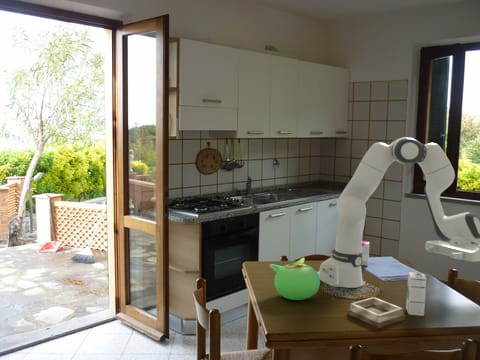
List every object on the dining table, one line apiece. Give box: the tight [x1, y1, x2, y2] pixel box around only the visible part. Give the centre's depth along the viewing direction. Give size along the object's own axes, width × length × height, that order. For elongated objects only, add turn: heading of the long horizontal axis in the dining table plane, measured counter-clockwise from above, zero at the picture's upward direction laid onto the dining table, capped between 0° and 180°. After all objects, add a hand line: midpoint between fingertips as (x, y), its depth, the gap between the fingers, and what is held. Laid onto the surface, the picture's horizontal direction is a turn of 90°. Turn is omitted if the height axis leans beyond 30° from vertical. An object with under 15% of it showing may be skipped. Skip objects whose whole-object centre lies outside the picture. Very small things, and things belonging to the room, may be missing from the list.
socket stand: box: [347, 296, 406, 329], centre depth 166 cm, size 14×14×4 cm
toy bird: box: [268, 257, 321, 301], centre depth 181 cm, size 18×17×15 cm
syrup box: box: [405, 271, 427, 317], centre depth 170 cm, size 6×6×14 cm
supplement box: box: [361, 240, 370, 268], centre depth 230 cm, size 6×6×12 cm
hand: (440, 253), depth 177 cm, fingers open, 8 cm apart
